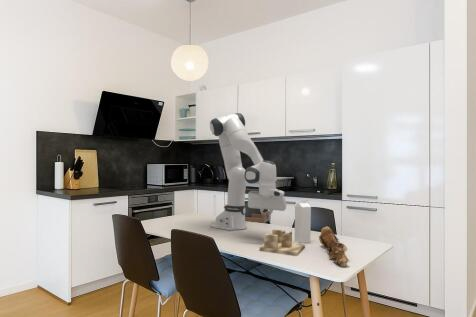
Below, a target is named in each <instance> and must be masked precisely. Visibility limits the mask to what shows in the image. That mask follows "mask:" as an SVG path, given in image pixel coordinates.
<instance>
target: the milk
mask: <svg viewBox="0 0 476 317" xmlns="http://www.w3.org/2000/svg"><path fill="white" fill-rule="evenodd" d="M311 213H312V207H311V205H310V204H309V203H308V200H307V199H301V200H300V199H299V200H298V203H296V205H295V206H294V241H295V242H297V243H298V244H306V243H307V244H308V243H311V224H312V223H311V222H312V221H311V220H312V219H311V218H312V214H311Z"/></svg>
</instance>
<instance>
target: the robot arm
mask: <svg viewBox="0 0 476 317" xmlns="http://www.w3.org/2000/svg"><path fill="white" fill-rule="evenodd" d="M245 126H246V120H245V116H244V115H243V114H242V113H241V112H240V113H239V112H236V113H229V114H226V115H223V116H219V117H215V118H213V119H211V120H210V122H209V129H210V132H211V134H212V135H214V136H216V137H217V136H218V141H219V147H220V152H221V156H222V159H223V162H224V169H225V173H226V176H227V180H228V186H227V187H228V189H227V198H226V199H227V203H226V204H225V205H224V206H223V209H224V211H222V212H220V213H219V214H218V215H217V216H216V217H215V220H214V223H212V224H211V226H210V227H211V228H214V229H222V230H227V231H235V230H236V231H237V230H245V229H247V228H248V227H247V221H245V217H246V205H245V204H246V203H245V202H246V188H247V183H248V184H250V185H258V190H250V191H248V193H247V194H248V195H247V198H248V201H247V207H248V208H249V209H258V210H259V211H260V213H261V214H260V215H262V214H263V213H264V210H267V211H269V212H270V214H268V215H267V218H270V219H271V215H272V213H273V212H274V211H279V212H284V211H286V209H287V200H286V197H285V191H283V190H280V189H278V188H277V186H276V181H277V166H276V164H275V162H274V161H270V160H265V159H264V157H263V155H262V154H261V151H260V150H259V148H258V147H257V145H256V144H255V143H254V141H253V140H252V139H251V137H250V135H249V133H248V132H247V129H246V127H245ZM241 153H243V154H245V155H247V156H248V157H249V158H250V159H251V161H252V163H253V165H252V166H249V167H247V168H246V169H245V168H244V167H243V163H242V158H241Z"/></svg>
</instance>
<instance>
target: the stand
mask: <svg viewBox="0 0 476 317" xmlns="http://www.w3.org/2000/svg"><path fill="white" fill-rule="evenodd" d="M263 236H264V237H263V239H264V241H263V242H264V243H263V244H262V245H261V246H260V247H259V252H265V253H266V252H267V253H276V254H283V255H288V256H289V255H290V256H293V257H294V256H299V255H300V253H301V252H302V251H303V250H304V249H305V247H306V244H305V243H294V242H293V231H290V232H286V230H281V229H275V228H274V229H272V230H271V234H269V233H265V234H264V235H263Z"/></svg>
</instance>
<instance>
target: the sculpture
mask: <svg viewBox="0 0 476 317" xmlns="http://www.w3.org/2000/svg"><path fill="white" fill-rule="evenodd" d="M318 240H319V243H320V244H321V245H322V246H324V247H327V249H328V254H327V255H328V257H329V259H330V260H332V261H333V262H334V263H338V264H339V266H341V267H345V266H347V264H348V262H349V261H350V260H349V258H348V256H347V255H346V253H345V252H347V251H348V248H347V246H346V245H345V244H344V243H343V242H340V240H339V238H338V237H337V236H336V235H335V233H334V231H333V229H331V228H330V227H329V226H324V227H322V229H320V234H319V236H318Z"/></svg>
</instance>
